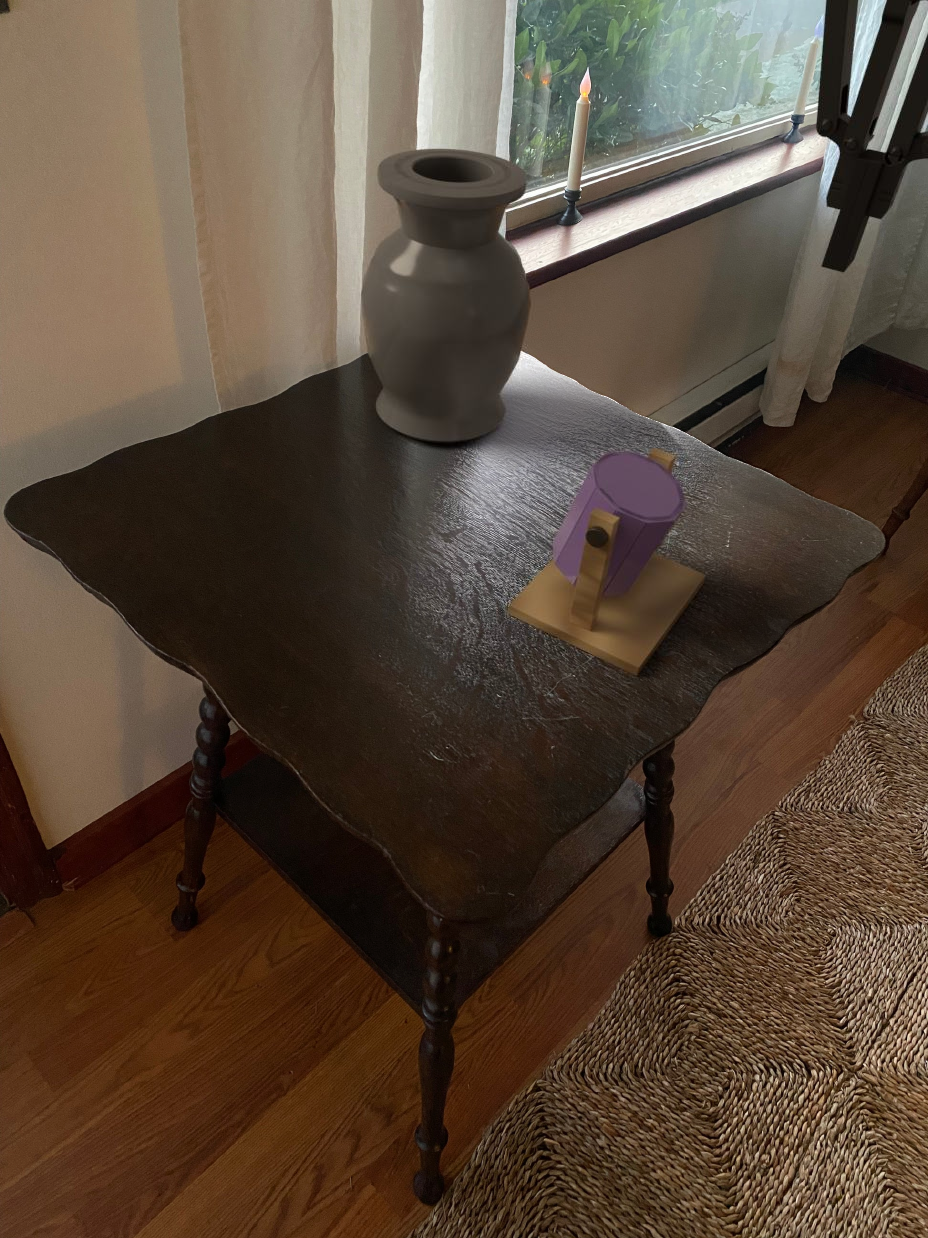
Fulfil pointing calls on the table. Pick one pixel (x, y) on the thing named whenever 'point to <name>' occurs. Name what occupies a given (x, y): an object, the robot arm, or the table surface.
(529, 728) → the table surface
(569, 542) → the cup
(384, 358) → the vase
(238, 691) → the table surface
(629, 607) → the swivel stand
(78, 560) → the table surface
